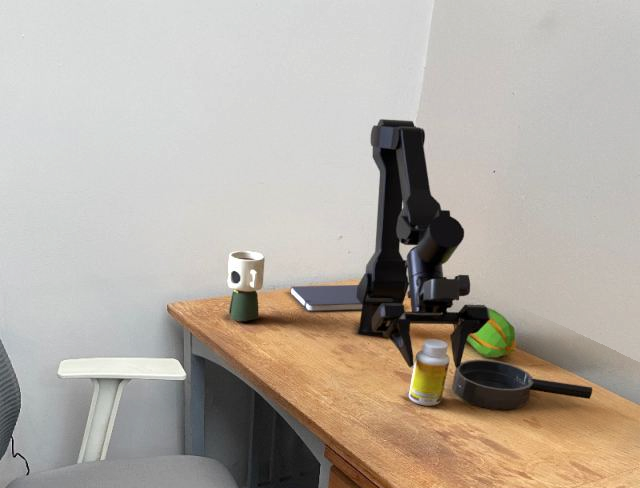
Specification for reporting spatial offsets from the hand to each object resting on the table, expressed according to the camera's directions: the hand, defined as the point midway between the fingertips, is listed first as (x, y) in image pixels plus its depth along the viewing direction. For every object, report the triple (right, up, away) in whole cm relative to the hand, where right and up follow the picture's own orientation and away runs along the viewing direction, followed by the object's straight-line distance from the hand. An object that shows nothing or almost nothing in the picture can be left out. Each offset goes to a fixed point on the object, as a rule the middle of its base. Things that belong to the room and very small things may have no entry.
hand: (434, 366), depth 128 cm
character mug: (-32, +16, +33) cm, 49 cm away
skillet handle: (+23, -4, +6) cm, 24 cm away
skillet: (+12, -3, +9) cm, 15 cm away
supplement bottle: (-1, -5, +5) cm, 7 cm away
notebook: (-10, +24, +48) cm, 54 cm away
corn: (+16, +9, +29) cm, 34 cm away
